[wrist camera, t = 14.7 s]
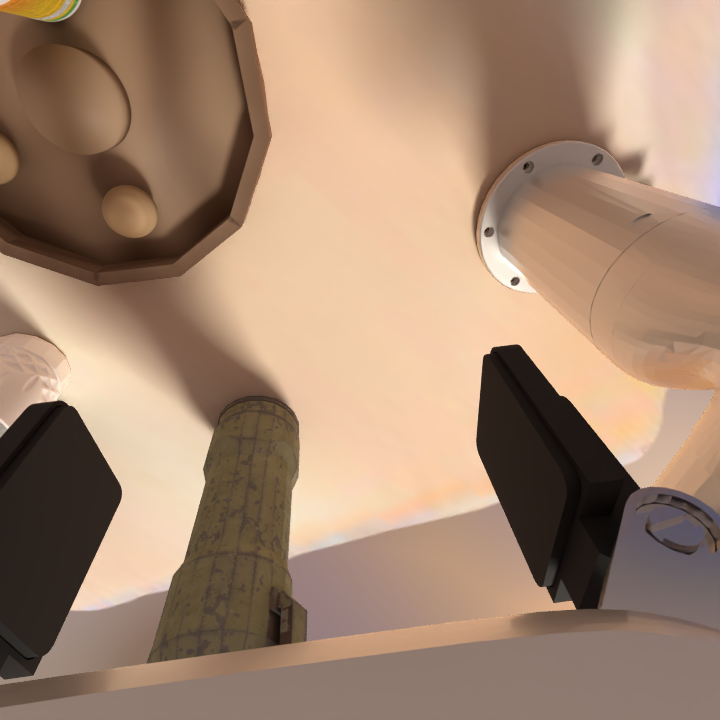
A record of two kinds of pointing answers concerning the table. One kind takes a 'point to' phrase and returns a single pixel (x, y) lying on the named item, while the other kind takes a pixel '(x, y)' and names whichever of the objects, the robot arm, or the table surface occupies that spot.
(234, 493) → the thermos
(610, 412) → the table surface
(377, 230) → the table surface
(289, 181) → the table surface
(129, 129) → the groove tray
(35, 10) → the supplement bottle
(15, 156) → the bead
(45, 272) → the table surface
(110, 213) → the bead
